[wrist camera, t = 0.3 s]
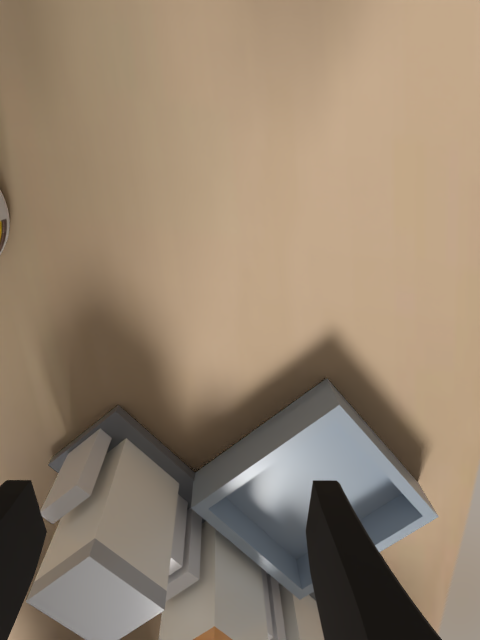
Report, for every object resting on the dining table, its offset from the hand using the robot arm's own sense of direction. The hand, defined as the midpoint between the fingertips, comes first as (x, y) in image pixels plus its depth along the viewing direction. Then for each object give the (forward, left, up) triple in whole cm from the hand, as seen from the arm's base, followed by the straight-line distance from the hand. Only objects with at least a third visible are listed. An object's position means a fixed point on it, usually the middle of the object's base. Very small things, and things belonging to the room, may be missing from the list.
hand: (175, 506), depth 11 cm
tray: (-1, -11, -11) cm, 15 cm away
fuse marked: (-8, -11, -10) cm, 17 cm away
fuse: (-8, -4, -10) cm, 13 cm away
